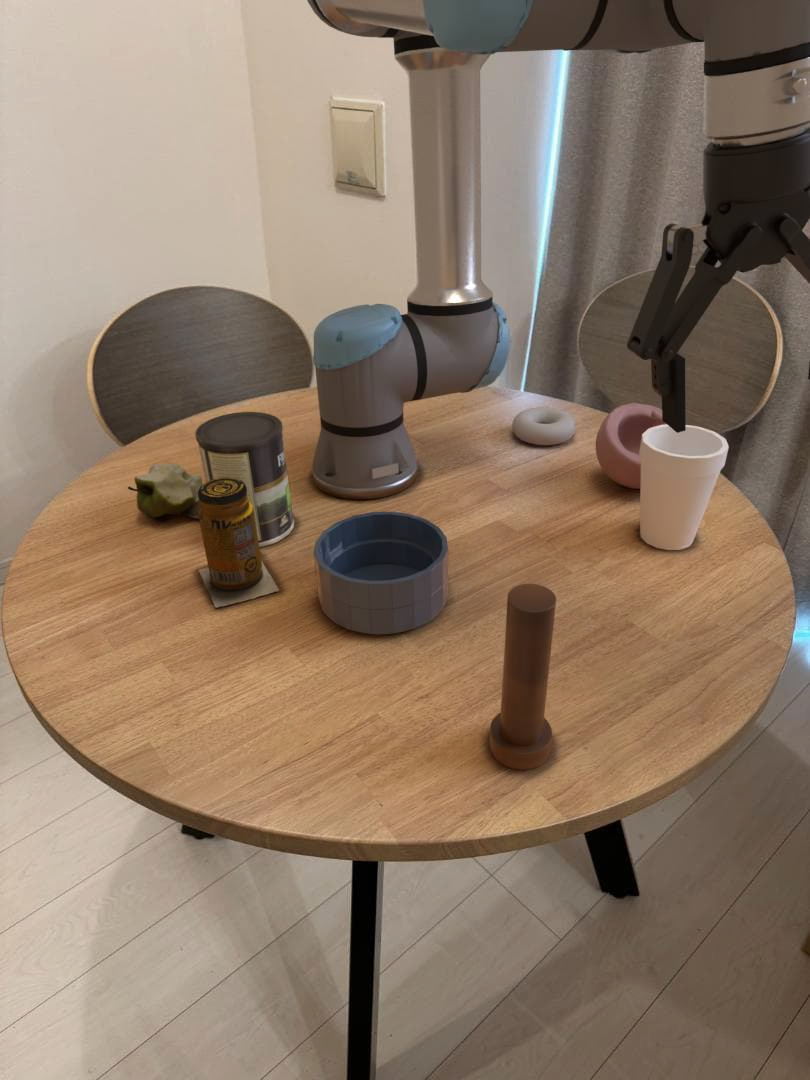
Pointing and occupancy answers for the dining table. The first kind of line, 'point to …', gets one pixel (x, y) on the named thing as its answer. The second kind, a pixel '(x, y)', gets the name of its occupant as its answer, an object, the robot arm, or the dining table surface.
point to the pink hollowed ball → (625, 441)
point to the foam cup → (677, 482)
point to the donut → (543, 426)
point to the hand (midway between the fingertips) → (748, 404)
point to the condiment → (231, 544)
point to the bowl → (382, 572)
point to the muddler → (525, 679)
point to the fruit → (168, 491)
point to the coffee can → (251, 466)
